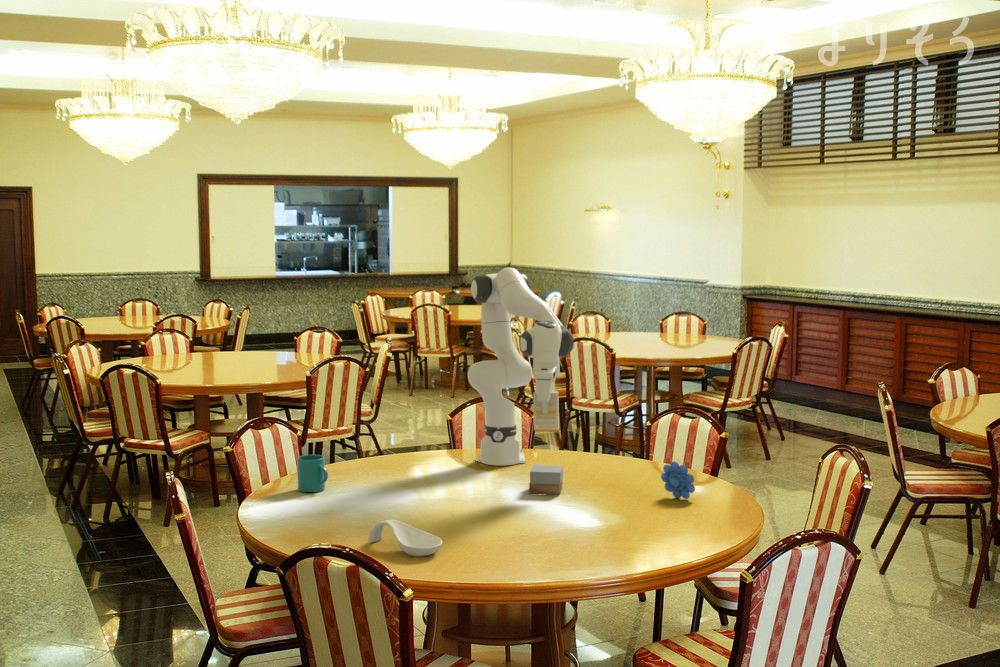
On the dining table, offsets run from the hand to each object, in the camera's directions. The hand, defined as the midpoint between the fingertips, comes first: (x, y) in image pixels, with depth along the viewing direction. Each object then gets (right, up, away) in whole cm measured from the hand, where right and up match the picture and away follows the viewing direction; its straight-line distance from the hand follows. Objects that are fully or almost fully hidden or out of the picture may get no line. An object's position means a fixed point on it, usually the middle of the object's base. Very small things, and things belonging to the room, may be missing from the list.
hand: (546, 411), depth 333 cm
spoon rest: (-42, -33, -60) cm, 80 cm away
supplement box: (0, -7, +1) cm, 7 cm away
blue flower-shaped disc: (+42, -28, -8) cm, 51 cm away
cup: (-78, -27, +4) cm, 82 cm away
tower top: (0, -23, +2) cm, 23 cm away
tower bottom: (0, -27, +2) cm, 27 cm away
